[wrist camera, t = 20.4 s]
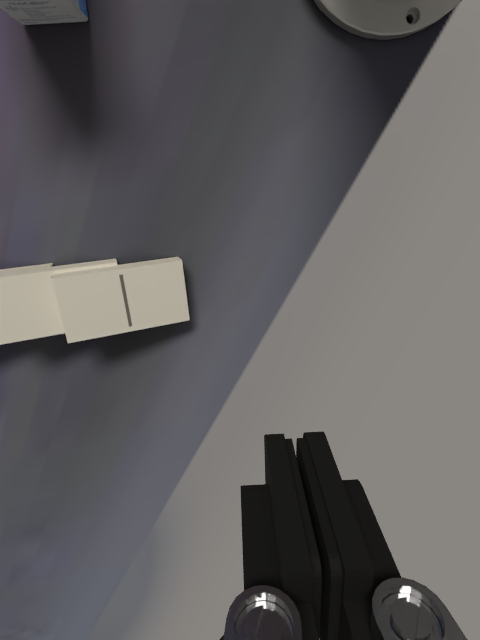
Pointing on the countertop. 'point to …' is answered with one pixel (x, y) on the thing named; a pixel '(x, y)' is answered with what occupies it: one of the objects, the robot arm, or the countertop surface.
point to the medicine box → (45, 11)
